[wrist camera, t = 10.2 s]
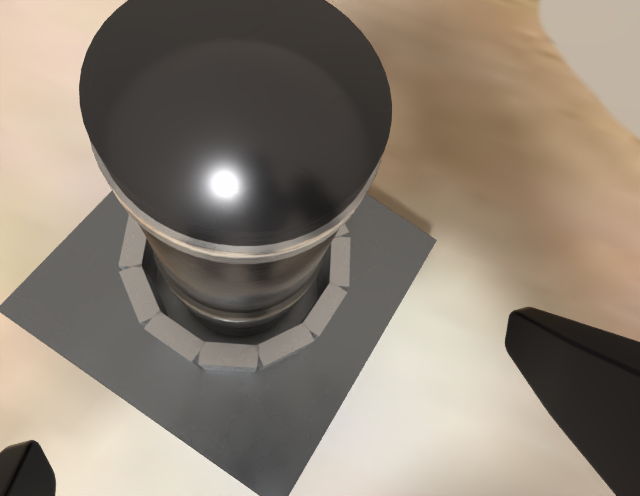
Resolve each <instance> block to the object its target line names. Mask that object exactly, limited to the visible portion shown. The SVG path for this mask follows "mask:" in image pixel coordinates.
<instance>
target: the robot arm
mask: <svg viewBox="0 0 640 496" xmlns="http://www.w3.org/2000/svg"><path fill="white" fill-rule="evenodd" d="M505 347H506V350H507V352H508V354H509V356H510V357H511V358H512V360H513V361H514V363H515V364H516V366H517V367H518V369H519V370H520V372H521V373H522V375H523V376H524V378H525V379H526V381H527V382H528V384H529V385H530V387H531V388H532V389H533V391H534V392H535V394H536V395H537V397H538V398H539V400H540V401H541V403H542V404H543V406H544V407H545V408H546V410H547V411H548V413H549V414H550V415H551V417H552V418H553V419H554V420H555V422H556V423H557V424H558V425H559V427H560V428H561V429H562V430H563V432H564V433H565V434H566V435H567V436H568V438H569V439H570V440H571V441H572V443H573V444H574V445H575V446H576V447H577V449H578V450H579V451H580V452H581V453H582V455H583V456H584V457H585V458H586V460H587V461H588V462H589V463H590V464H591V466H592V467H593V468H594V469H595V470H596V472H597V473H598V474H599V475H600V477H601V478H602V479H603V480H604V481H605V483H606V484H607V485H608V486H609V488H610V489H611V490H612V491H613V492H614V494H615V495H616V496H640V342H638V341H635V340H632V339H629V338H626V337H623V336H619V335H616V334H613V333H610V332H607V331H604V330H601V329H598V328H595V327H592V326H588V325H585V324H582V323H579V322H576V321H573V320H570V319H567V318H564V317H561V316H558V315H554V314H551V313H548V312H545V311H542V310H539V309H536V308H533V307H525V308H521V309H518V310H514V311H512V312H511V314H510V315H509V319H508V325H507V331H506V337H505ZM55 492H56V479H55V474H54V471H53V469H52V467H51V465H50V463H49V462H48V460H47V458H46V456H45V454H44V452H43V450H42V448H41V446H40V445H39V443H38V442H36V441H34V440H29V441H26V442H22V443H18V444H15V445H11V446H8V447H6V448H5V449H4V450H2V451H1V452H0V496H55Z"/></svg>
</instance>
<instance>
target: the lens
mask: <svg viewBox="0 0 640 496" xmlns="http://www.w3.org/2000/svg"><path fill="white" fill-rule="evenodd" d="M79 95H80V108H81V112H82V117H83V122H84V125H85V128H86V130H87V133H88V135H89V138H90V141H91V146H92V150H93V153H94V156H95V158H96V161H97V163H98V166H99V168H100V170H101V171H102V173H103V175H104V177H105V178H106V180H107V182H108V184H109V185H110V187H111V189H112V190H113V192H114V194H115V195H116V197H117V199H118V200H119V202H120V203H121V204H122V206H123V207H124V208H125V209H126V211H127V212H128V213H129V215H130V216H131V217H132V218H133V219H134V220H135V221H136V222H137V223H138V224H139V226H140V228H141V229H142V231H143V233H144V235H145V236H146V238H147V240H148V241H149V243H150V245H151V247H152V250H153V254H154V258H155V261H156V264H157V266H158V269H159V270H160V272H161V274H162V276H163V277H164V279H165V281H166V282H167V284H168V286H169V287H170V289H171V290H172V292H173V293H174V295H175V296H176V297H177V299H178V300H179V301H180V302H181V303H182V304H183V305H184V306H185V307H186V308H187V309H188V310H189V312H190V313H191V314H192V315H193V316H194V317H195V318H196V319H197V320H198V321H199V322H200V323H202V324H203V325H204V326H206V327H208V328H210V329H212V330H214V331H216V332H219V333H222V334H227V335H234V336H245V335H252V334H256V333H259V332H263V331H265V330H267V329H269V328H271V327H273V326H274V325H276V324H277V323H279V322H280V321H281V320H282V319H283V318H284V317H285V316H286V315H287V314H288V313H289V312H290V310H291V309H292V308H293V307H294V306H295V305H296V304H297V303H298V302H299V301H300V300H301V299H302V297H303V296H304V295H305V293H306V292H307V290H308V289H309V287H310V286H311V284H312V282H313V281H314V279H315V278H316V276H317V274H318V272H319V270H320V268H321V266H322V263H323V260H324V258H325V253H326V250H327V249H328V247H329V245H330V244H331V242H332V240H333V239H334V237H335V235H336V234H337V232H338V230H339V228H340V227H341V226H342V225H343V224H344V223H345V222H346V221H347V220H348V219H349V218H350V217H351V215H352V214H353V212H354V211H355V210H356V208H357V207H358V205H359V204H360V202H361V201H362V199H363V197H364V196H365V194H366V193H367V191H368V189H369V187H370V185H371V184H372V182H373V180H374V178H375V176H376V173H377V170H378V167H379V164H380V161H381V157H382V154H383V152H384V149H385V146H386V143H387V141H388V138H389V133H390V127H391V121H392V102H391V94H390V88H389V84H388V80H387V77H386V73H385V71H384V69H383V66H382V64H381V62H380V59H379V57H378V56H377V54H376V52H375V50H374V49H373V47H372V45H371V44H370V42H369V41H368V40H367V39H366V37H365V36H364V35H363V33H362V32H361V31H360V30H359V29H358V28H357V27H356V26H355V24H354V23H353V22H352V21H351V20H350V19H349V18H348V17H346V16H345V15H344V14H343V13H342V12H340V11H339V10H338V9H337V8H336V7H334V6H333V5H331V4H330V3H328V2H327V1H325V0H128V1H127V2H125V3H124V4H123V5H122V6H120V7H119V8H118V9H117V10H116V11H115V12H114V13H113V14H112V15H111V16H110V17H109V18H108V19H107V20H106V21H105V22H104V23H103V25H102V26H101V28H100V29H99V30H98V32H97V33H96V35H95V36H94V38H93V40H92V42H91V44H90V46H89V48H88V50H87V52H86V56H85V59H84V62H83V65H82V69H81V76H80V84H79Z"/></svg>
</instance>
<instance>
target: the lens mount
mask: <svg viewBox="0 0 640 496" xmlns="http://www.w3.org/2000/svg"><path fill="white" fill-rule="evenodd" d="M436 241H437V240H435V239H434V238H432V237H431V236H429V235H428V234H426V233H425V232H423V231H422V230H420V229H419V228H417V227H416V226H414V225H413V224H411V223H410V222H408V221H407V220H405V219H404V218H402V217H401V216H399V215H398V214H396V213H395V212H393V211H392V210H390V209H389V208H387V207H386V206H384V205H383V204H381V203H380V202H378V201H377V200H375V199H374V198H372V197H371V196H369V195H368V194H365V196H364V197H363V199H362V201H361V202H360V204H359V205H358V207H357V208H356V210H355V211H354V212H353V214H352V215H351V217H350V218H349V219H348V220H347V221H346V222H345V223H344V224H343V225H342V226H341V227H340V228H339V230H338V232H337V234H336V235H335V237H334V239H333V240H332V242H331V244H330V245H329V247H328V249H327V250H326V253H325V258H324V260H323V263H322V266H321V268H320V270H319V272H318V274H317V276H316V278H315V279H314V281H313V282H312V284H311V286H310V287H309V289H308V290H307V292H306V293H305V295H304V296H303V297H302V299H301V300H300V301H299V302H298V303H297V304H296V305H295V306H294V307H293V308H292V309H291V310H290V312H289V313H288V314H287V315H286V316H285V317H284V318H283V319H282V320H281V321H280V322H279V323H277V324H276V325H274V326H273V327H271V328H269V329H267V330H265V331H263V332H259V333H256V334H252V335H245V336H234V335H227V334H222V333H219V332H216V331H214V330H212V329H210V328H208V327H206V326H204V325H203V324H202V323H200V322H199V321H198V320H197V319H196V318H195V317H194V316H193V315H192V314H191V313H190V312H189V310H188V309H187V308H186V307H185V306H184V305H183V304H182V303H181V302H180V301H179V300H178V299H177V297H176V296H175V295H174V293H173V292H172V290H171V289H170V287H169V286H168V284H167V282H166V281H165V279H164V277H163V276H162V274H161V272H160V270H159V269H158V266H157V264H156V261H155V258H154V254H153V250H152V247H151V245H150V243H149V241H148V240H147V238H146V236H145V235H144V233H143V231H142V229H141V228H140V226H139V224H138V223H137V222H136V221H135V220H134V219H133V218H132V217H131V216H130V215H129V213H128V212H127V211H126V209H125V208H124V207H123V206H122V204H121V203H120V202H119V200H118V199H117V197H116V195H115V194H114V192H113V190H112V191H111V192H110V193H109V194H108V195H107V196H106V197H105V198H104V200H103V201H102V202H101V203H100V204H99V205H98V206H97V207H96V208H95V209H94V210H93V211H92V212H91V213H90V214H89V215H88V216H87V217H86V218H85V219H84V220H83V221H82V222H81V223H80V224H79V225H78V226H77V227H76V228H75V229H74V230H73V231H72V232H71V233H70V234H69V235H68V236H67V238H66V239H65V240H64V241H63V242H62V243H61V244H60V245H59V246H58V247H57V248H56V249H55V250H54V251H53V252H52V253H51V254H50V255H49V256H48V257H47V258H46V259H45V260H44V261H43V262H42V263H41V264H40V265H39V266H38V267H37V268H36V269H35V270H34V271H33V272H32V273H31V274H30V275H29V277H28V278H27V279H26V280H25V281H24V282H23V283H22V284H21V285H20V286H19V287H18V288H17V289H16V290H15V291H14V292H13V293H12V294H11V295H10V296H9V297H8V298H7V299H6V300H5V301H4V302H3V303H2V304H1V305H0V312H1V313H2V314H3V315H5V316H6V317H8V318H9V319H10V320H12V321H13V322H15V323H16V324H18V325H19V326H20V327H22V328H23V329H25V330H26V331H27V332H29V333H30V334H32V335H33V336H35V337H36V338H37V339H39V340H40V341H42V342H43V343H44V344H46V345H47V346H49V347H50V348H52V349H53V350H54V351H56V352H57V353H59V354H60V355H61V356H63V357H64V358H66V359H67V360H68V361H70V362H71V363H73V364H74V365H76V366H77V367H78V368H80V369H81V370H83V371H84V372H85V373H87V374H88V375H90V376H91V377H93V378H94V379H95V380H97V381H98V382H100V383H101V384H102V385H104V386H105V387H107V388H108V389H110V390H111V391H112V392H114V393H115V394H117V395H118V396H119V397H121V398H122V399H124V400H125V401H127V402H128V403H129V404H131V405H132V406H134V407H135V408H136V409H138V410H139V411H141V412H142V413H143V414H145V415H146V416H148V417H149V418H151V419H152V420H153V421H155V422H156V423H158V424H159V425H160V426H162V427H163V428H165V429H166V430H168V431H169V432H170V433H172V434H173V435H175V436H176V437H177V438H179V439H180V440H182V441H183V442H185V443H186V444H187V445H189V446H190V447H192V448H193V449H194V450H196V451H197V452H199V453H200V454H202V455H203V456H204V457H206V458H207V459H209V460H210V461H211V462H213V463H214V464H216V465H217V466H218V467H220V468H221V469H223V470H224V471H226V472H227V473H228V474H230V475H231V476H233V477H234V478H235V479H237V480H238V481H240V482H241V483H243V484H244V485H245V486H247V487H248V488H250V489H251V490H252V491H254V492H255V493H257V494H258V495H260V496H289V494H290V492H291V490H292V489H293V487H294V485H295V484H296V482H297V480H298V478H299V477H300V475H301V473H302V472H303V470H304V468H305V466H306V465H307V463H308V461H309V459H310V458H311V456H312V454H313V453H314V451H315V449H316V447H317V446H318V444H319V442H320V441H321V439H322V437H323V435H324V434H325V432H326V430H327V428H328V427H329V425H330V423H331V422H332V420H333V418H334V416H335V415H336V413H337V411H338V410H339V408H340V406H341V404H342V403H343V401H344V399H345V397H346V396H347V394H348V392H349V391H350V389H351V387H352V385H353V384H354V382H355V380H356V379H357V377H358V375H359V373H360V372H361V370H362V368H363V366H364V365H365V363H366V361H367V360H368V358H369V356H370V354H371V353H372V351H373V349H374V348H375V346H376V344H377V342H378V341H379V339H380V337H381V335H382V334H383V332H384V330H385V329H386V327H387V325H388V323H389V322H390V320H391V318H392V317H393V315H394V313H395V311H396V310H397V308H398V306H399V304H400V303H401V301H402V299H403V298H404V296H405V294H406V292H407V291H408V289H409V287H410V286H411V284H412V282H413V280H414V279H415V277H416V275H417V273H418V272H419V270H420V268H421V267H422V265H423V263H424V261H425V260H426V258H427V256H428V254H429V253H430V251H431V249H432V248H433V246H434V244H435V242H436Z"/></svg>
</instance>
